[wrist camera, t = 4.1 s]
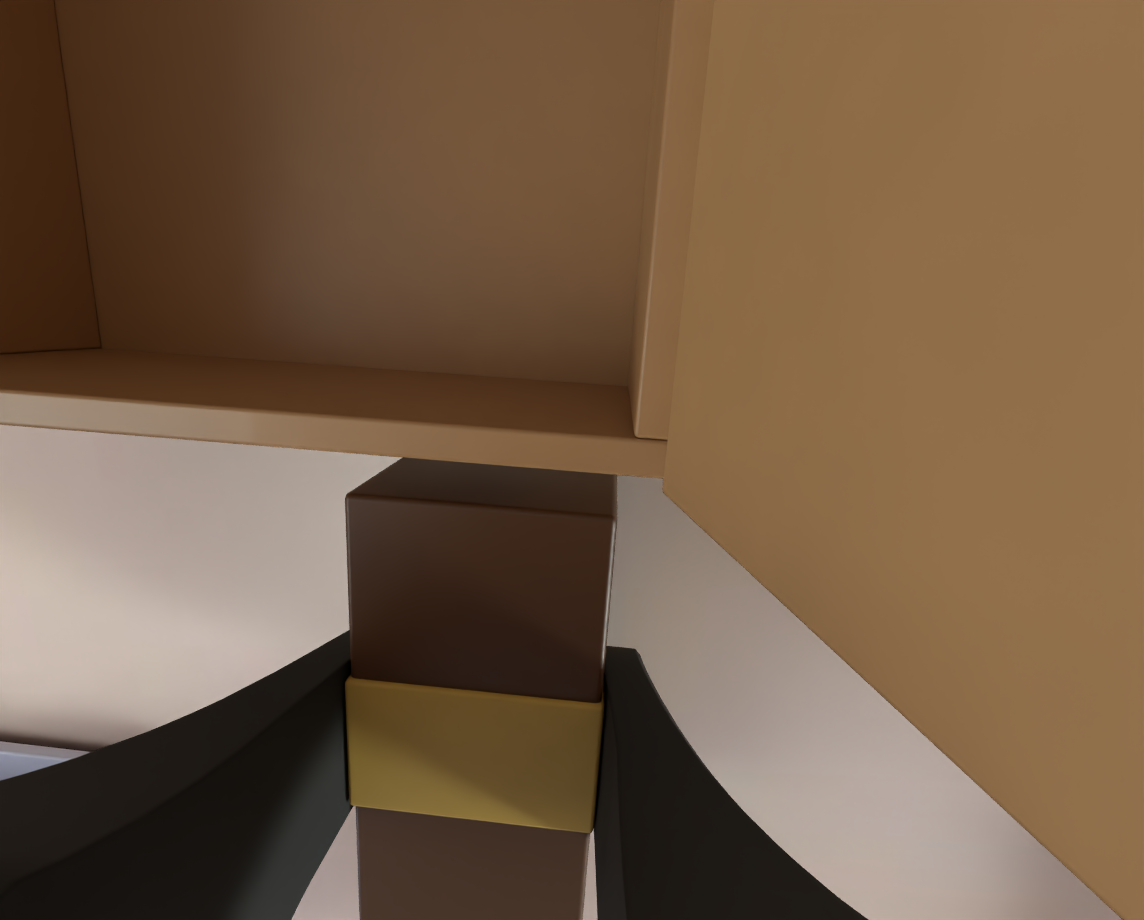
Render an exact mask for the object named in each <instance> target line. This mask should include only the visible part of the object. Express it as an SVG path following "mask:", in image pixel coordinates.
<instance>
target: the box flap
mask: <svg viewBox="0 0 1144 920" xmlns="http://www.w3.org/2000/svg"><path fill="white" fill-rule="evenodd" d="M662 490H663V493H664V494H665V495H666V496H667V497H668V498H669V499H670V500H672V501H673V502H674V503H675V504H676V505H677V506H678V507H679V508H680V509H681V510H682V511H683V512H684V513H686V514H687V515H688V516H689V517H690V518H691V519H692V520H693V521H694V522H695V523H696V524H697V525H698V526H700V527H701V528H702V529H703V530H704V531H705V532H706V533H707V534H708V535H709V536H710V537H711V538H712V539H714V540H715V541H716V542H717V543H718V544H719V545H720V546H721V547H722V548H723V549H724V550H725V551H726V552H728V553H729V554H730V555H731V556H732V557H733V558H734V559H735V560H736V561H737V562H738V563H739V564H740V565H741V566H743V567H744V568H745V569H746V570H747V571H748V572H749V573H750V574H751V575H752V576H753V577H754V578H755V579H757V580H758V581H759V582H760V583H761V584H762V585H763V586H764V587H765V588H766V589H767V590H768V591H769V592H771V593H772V594H773V595H774V596H775V597H776V598H777V599H778V600H779V601H780V602H781V603H782V604H783V605H785V606H786V607H787V608H788V609H789V610H790V611H791V612H792V613H793V614H794V615H795V616H796V617H797V618H799V619H800V620H801V621H802V622H803V623H804V624H805V625H806V626H807V627H808V628H809V629H810V630H811V631H813V632H814V633H815V634H816V635H817V636H818V637H819V638H820V639H821V640H822V641H823V642H824V643H825V644H827V645H828V646H829V647H830V648H831V649H832V650H833V651H834V652H835V653H836V654H837V655H838V656H839V657H841V658H842V659H843V660H844V661H845V662H846V663H847V664H848V665H849V666H850V667H851V668H852V669H853V670H855V671H856V672H857V673H858V674H859V675H860V676H861V677H862V678H863V679H864V680H865V681H866V682H867V683H868V684H870V685H871V686H872V687H873V688H874V689H875V690H876V691H877V692H878V693H879V694H880V695H881V696H882V697H884V698H885V699H886V700H887V701H888V702H889V703H890V704H891V705H892V706H893V707H894V708H895V709H896V710H898V711H899V712H900V713H901V714H902V715H903V716H904V717H905V718H906V719H907V720H908V721H909V722H910V723H912V724H913V725H914V726H915V727H916V728H917V729H918V730H919V731H920V732H921V733H922V734H923V735H924V736H926V737H927V738H928V739H929V740H930V741H931V742H932V743H933V744H934V745H935V746H936V747H937V748H938V749H940V750H941V751H942V752H943V753H944V754H945V755H946V756H947V757H948V758H949V759H950V760H951V761H952V762H954V763H955V764H956V765H957V766H958V767H959V768H960V769H961V770H962V771H963V772H964V773H965V774H966V775H968V776H969V777H970V778H971V779H972V780H973V781H974V782H975V783H976V784H977V785H978V786H979V787H980V788H982V789H983V790H984V791H985V792H986V793H987V794H988V795H989V796H990V797H991V798H992V799H993V800H994V801H995V802H997V803H998V804H999V805H1000V806H1001V807H1002V808H1003V809H1004V810H1005V811H1006V812H1007V813H1008V814H1009V815H1011V816H1012V817H1013V818H1014V819H1015V820H1016V821H1017V822H1018V823H1019V824H1020V825H1021V826H1022V827H1023V828H1025V829H1026V830H1027V831H1028V832H1029V833H1030V834H1031V835H1032V836H1033V837H1034V838H1035V839H1036V840H1037V841H1039V842H1040V843H1041V844H1042V845H1043V846H1044V847H1045V848H1046V849H1047V850H1048V851H1049V852H1050V853H1051V854H1053V855H1054V856H1055V857H1056V858H1057V859H1058V860H1059V861H1060V862H1061V863H1062V864H1063V865H1064V866H1065V867H1067V868H1068V869H1069V870H1070V871H1071V872H1072V873H1073V874H1074V875H1075V876H1076V877H1077V878H1078V879H1079V880H1081V881H1082V882H1083V883H1084V884H1085V885H1086V886H1087V887H1088V888H1089V889H1090V890H1091V891H1092V892H1093V893H1095V894H1096V895H1097V896H1098V897H1099V898H1100V899H1101V900H1102V901H1103V902H1104V903H1105V904H1106V905H1107V906H1109V907H1110V908H1111V909H1112V910H1113V911H1114V912H1115V913H1116V914H1117V915H1118V916H1119V917H1120V918H1121V919H1123V920H1144V0H714V9H713V18H712V27H711V37H710V46H709V56H708V65H707V74H706V84H705V93H704V103H703V112H702V122H701V131H700V140H699V150H698V159H697V169H696V178H695V187H694V197H693V206H692V216H691V225H690V234H689V244H688V253H687V263H686V272H685V281H684V291H683V300H682V310H681V319H680V328H679V338H678V347H677V357H676V366H675V375H674V385H673V394H672V404H671V413H670V423H669V432H668V441H667V451H666V460H665V470H664V479H663V488H662Z"/></svg>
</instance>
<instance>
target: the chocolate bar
mask: <svg viewBox="0 0 1144 920" xmlns="http://www.w3.org/2000/svg"><path fill="white" fill-rule="evenodd" d="M345 511H346V540H347V569H348V597H349V626H350V654H351V674H350V676H349V677H348V678H347V680H346V682H345V699H346V725H347V751H348V778H349V803H350V804H351V805H352V806H356V826H357V855H358V884H359V912H360V920H582V919H583V908H584V896H585V885H586V873H587V862H588V850H589V839H590V833H591V832H592V831H593V829H594V820H595V808H596V797H597V786H598V775H599V763H600V752H601V741H602V730H603V718H604V702H605V688H604V667H605V655H606V644H607V632H608V621H609V609H610V598H611V586H612V575H613V563H614V552H615V540H616V529H617V475H613V474H601V473H588V472H576V471H564V470H552V469H539V468H527V467H515V466H503V465H490V464H478V463H466V462H454V461H441V460H429V459H417V458H405V457H403V458H401V459H400V460H398V461H397V462H395V463H394V464H392V465H390V466H389V467H387V468H386V469H384V470H383V471H381V472H380V473H378V474H377V475H375V476H374V477H372V478H371V479H369V480H367V481H366V482H364V483H363V484H361V485H360V486H358V487H357V488H355V489H354V490H352V491H351V492H349V493H348V494H347V495H346V498H345Z"/></svg>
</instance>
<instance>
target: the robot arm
mask: <svg viewBox="0 0 1144 920" xmlns="http://www.w3.org/2000/svg"><path fill="white" fill-rule="evenodd" d="M350 674H351V654H350V630H349V631H347V632H345V633H343V634H342V635H340V636H338V637H336V638H334V639H333V640H331V641H329V642H327V643H326V644H324V645H322V646H320V647H319V648H317V649H315V650H313V651H312V652H310V653H308V654H306V655H305V656H303V657H301V658H299V659H297V660H296V661H294V662H292V663H290V664H289V665H287V666H285V667H283V668H281V669H280V670H278V671H276V672H274V673H272V674H270V675H268V676H266V677H264V678H262V679H261V680H259V681H257V682H255V683H253V684H251V685H249V686H247V687H245V688H243V689H241V690H239V691H237V692H235V693H233V694H231V695H229V696H228V697H226V698H224V699H222V700H219V701H217V702H215V703H213V704H211V705H209V706H207V707H204V708H202V709H200V710H198V711H196V712H193V713H191V714H189V715H187V716H184V717H182V718H179V719H177V720H175V721H172V722H170V723H168V724H165V725H163V726H161V727H158V728H156V729H153V730H151V731H148V732H146V733H143V734H140V735H137V736H135V737H132V738H129V739H126V740H124V741H121V742H118V743H115V744H112V745H110V746H107V747H104V748H101V749H99V750H96V751H93V752H87V751H78V750H70V749H61V748H53V747H44V746H36V745H27V744H19V743H10V742H2V741H0V920H291V919H292V917H293V915H294V913H295V911H296V909H297V907H298V905H299V903H300V901H301V899H302V897H303V895H304V893H305V891H306V889H307V887H308V885H309V883H310V881H311V880H312V878H313V876H314V874H315V873H316V871H317V869H318V867H319V865H320V864H321V862H322V860H323V858H324V857H325V855H326V853H327V851H328V850H329V848H330V846H331V844H332V843H333V841H334V839H335V837H336V835H337V834H338V832H339V830H340V828H341V827H342V825H343V823H344V821H345V820H346V818H347V816H348V814H349V812H350V811H351V809H352V807H353V806H352V805H351V804H350V803H349V778H348V751H347V725H346V699H345V682H346V680H347V678H348V677H349V676H350ZM604 688H605V702H604V718H603V730H602V741H601V752H600V763H599V775H598V786H597V797H596V808H595V820H594V841H595V865H596V889H597V914H598V920H868V919H867V918H865V917H864V916H862V915H861V914H860V913H858V912H857V911H856V910H854V909H853V908H852V907H850V906H849V905H848V904H846V903H845V902H844V901H842V900H841V899H840V898H838V897H837V896H836V895H835V894H834V893H832V892H831V891H830V890H829V889H828V888H826V887H825V886H824V885H823V884H822V883H820V882H819V881H818V880H817V879H816V878H815V877H813V876H812V875H811V874H810V873H809V872H807V871H806V870H805V869H804V868H803V867H802V866H800V865H799V864H798V863H797V862H796V861H795V860H794V859H793V858H791V857H790V856H789V855H788V854H787V853H786V852H785V851H784V850H783V849H782V848H780V847H779V846H778V845H777V844H776V843H775V842H774V841H773V840H772V839H771V838H770V837H769V836H768V835H767V834H766V833H765V832H764V831H763V830H762V829H761V828H760V827H759V826H758V825H757V824H756V823H755V822H754V821H753V820H752V819H751V818H750V817H749V816H748V815H747V814H746V813H745V812H744V811H743V810H742V809H741V808H740V807H739V806H738V804H737V803H736V802H735V801H734V800H733V799H732V798H731V797H730V795H729V794H728V793H727V792H726V791H725V789H724V788H723V787H722V786H721V785H720V783H719V782H718V781H717V780H716V779H715V777H714V776H713V775H712V774H711V772H710V771H709V770H708V769H707V767H706V766H705V765H704V763H703V762H702V761H701V759H700V758H699V757H698V755H697V754H696V752H695V751H694V749H693V748H692V747H691V745H690V744H689V742H688V741H687V739H686V738H685V737H684V735H683V734H682V732H681V730H680V729H679V727H678V726H677V724H676V723H675V721H674V719H673V718H672V716H671V714H670V713H669V711H668V709H667V708H666V706H665V705H664V703H663V701H662V699H661V698H660V696H659V694H658V692H657V690H656V688H655V687H654V685H653V683H652V681H651V679H650V677H649V675H648V673H647V671H646V668H645V666H644V664H643V661H642V659H641V656H640V654H639V653H638V652H637V651H636V649H632V648H622V647H612V646H606V655H605V667H604Z"/></svg>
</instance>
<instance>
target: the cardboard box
mask: <svg viewBox="0 0 1144 920" xmlns="http://www.w3.org/2000/svg"><path fill="white" fill-rule="evenodd" d="M713 9H714V0H0V424H1V425H13V426H25V427H37V428H50V429H62V430H74V431H86V432H99V433H111V434H123V435H135V436H148V437H160V438H172V439H184V440H197V441H209V442H221V443H233V444H246V445H258V446H270V447H282V448H294V449H307V450H319V451H331V452H343V453H356V454H368V455H380V456H392V457H405V458H417V459H429V460H441V461H454V462H466V463H478V464H490V465H503V466H515V467H527V468H539V469H552V470H564V471H576V472H588V473H601V474H613V475H625V476H637V477H649V478H662V479H664V470H665V460H666V451H667V441H668V432H669V423H670V413H671V404H672V394H673V385H674V375H675V366H676V357H677V347H678V338H679V328H680V319H681V310H682V300H683V291H684V281H685V272H686V263H687V253H688V244H689V234H690V225H691V216H692V206H693V197H694V187H695V178H696V169H697V159H698V150H699V140H700V131H701V122H702V112H703V103H704V93H705V84H706V74H707V65H708V56H709V46H710V37H711V27H712V18H713Z"/></svg>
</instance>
